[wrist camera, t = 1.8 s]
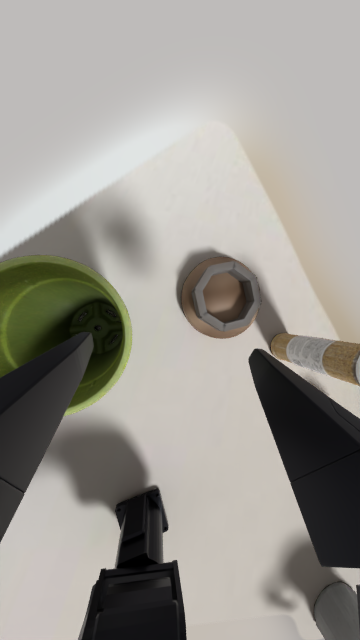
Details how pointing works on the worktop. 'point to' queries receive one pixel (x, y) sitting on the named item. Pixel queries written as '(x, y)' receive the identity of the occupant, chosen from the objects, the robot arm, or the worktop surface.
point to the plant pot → (62, 319)
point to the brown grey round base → (221, 297)
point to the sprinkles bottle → (320, 355)
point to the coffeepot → (337, 613)
